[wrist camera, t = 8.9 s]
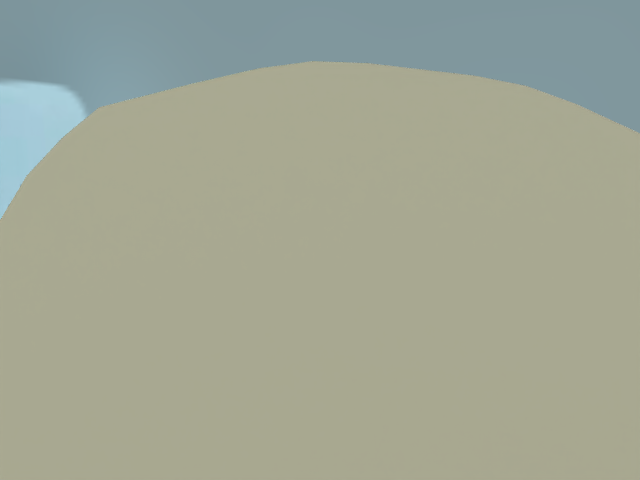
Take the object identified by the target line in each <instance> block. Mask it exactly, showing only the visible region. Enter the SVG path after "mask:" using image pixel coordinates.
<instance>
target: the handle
mask: <svg viewBox="0 0 640 480" xmlns="http://www.w3.org/2000/svg"><path fill="white" fill-rule="evenodd" d="M0 480H640V133H638V132H636V131H633V130H631V129H629V128H627V127H625V126H622V125H620V124H618V123H616V122H614V121H612V120H609V119H607V118H605V117H603V116H601V115H598V114H596V113H594V112H592V111H590V110H588V109H585V108H583V107H581V106H579V105H577V104H574V103H571V102H569V101H566V100H563V99H560V98H557V97H555V96H552V95H549V94H546V93H544V92H541V91H538V90H535V89H533V88H530V87H527V86H524V85H518V84H513V83H508V82H503V81H498V80H493V79H488V78H483V77H478V76H471V75H463V74H455V73H446V72H438V71H429V70H421V69H412V68H403V67H395V66H386V65H378V64H369V63H345V62H316V61H312V62H304V63H296V64H289V65H281V66H274V67H266V68H259V69H254V70H250V71H246V72H241V73H237V74H232V75H228V76H224V77H219V78H215V79H211V80H207V81H202V82H198V83H193V84H190V85H185V86H181V87H178V88H174V89H170V90H166V91H162V92H158V93H154V94H150V95H146V96H142V97H138V98H134V99H130V100H127V101H123V102H119V103H115V104H111V105H107V106H103V107H99V108H98V109H97V110H95V111H94V112H93V113H92V114H91V115H89V116H88V117H87V118H86V119H84V120H83V121H82V122H81V123H80V124H78V125H77V126H76V127H75V128H74V129H72V130H71V131H70V132H69V133H67V134H66V135H65V136H64V137H63V138H62V139H61V140H60V141H59V142H58V143H57V144H56V145H55V146H54V147H53V148H52V149H51V150H50V152H49V153H48V154H47V155H46V156H45V157H44V158H43V159H42V160H41V161H40V162H39V163H38V164H37V165H36V166H35V168H34V169H33V170H32V171H31V172H30V173H29V174H28V175H27V176H26V178H25V180H24V181H23V183H22V185H21V186H20V188H19V190H18V191H17V193H16V195H15V196H14V198H13V200H12V201H11V203H10V205H9V206H8V208H7V210H6V211H5V213H4V215H3V216H2V218H1V220H0Z"/></svg>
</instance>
